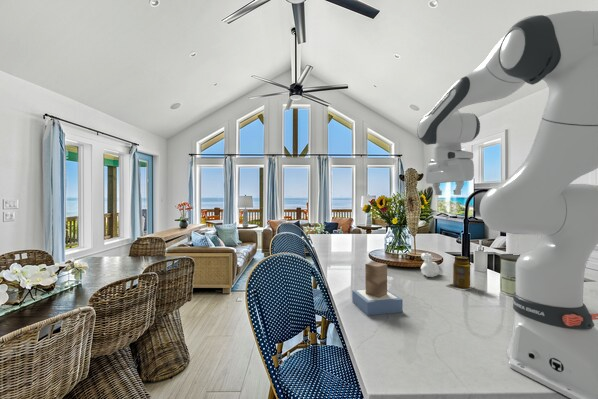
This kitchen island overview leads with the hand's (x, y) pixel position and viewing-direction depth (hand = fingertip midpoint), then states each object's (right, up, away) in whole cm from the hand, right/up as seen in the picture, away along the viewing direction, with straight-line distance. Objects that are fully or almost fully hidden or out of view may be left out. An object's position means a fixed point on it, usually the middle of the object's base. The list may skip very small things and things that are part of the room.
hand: (447, 195), depth 102 cm
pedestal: (-28, -37, -8) cm, 47 cm away
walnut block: (-28, -33, -8) cm, 44 cm away
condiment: (+12, -37, +13) cm, 41 cm away
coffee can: (+28, -37, +4) cm, 47 cm away
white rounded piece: (+7, -37, +30) cm, 48 cm away
